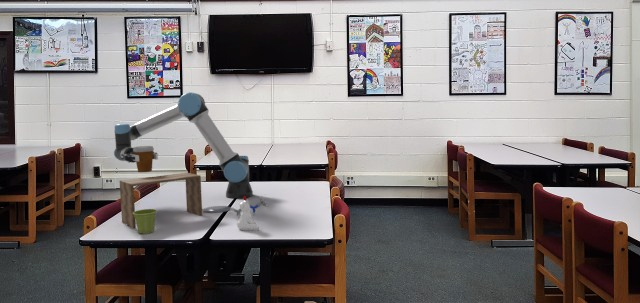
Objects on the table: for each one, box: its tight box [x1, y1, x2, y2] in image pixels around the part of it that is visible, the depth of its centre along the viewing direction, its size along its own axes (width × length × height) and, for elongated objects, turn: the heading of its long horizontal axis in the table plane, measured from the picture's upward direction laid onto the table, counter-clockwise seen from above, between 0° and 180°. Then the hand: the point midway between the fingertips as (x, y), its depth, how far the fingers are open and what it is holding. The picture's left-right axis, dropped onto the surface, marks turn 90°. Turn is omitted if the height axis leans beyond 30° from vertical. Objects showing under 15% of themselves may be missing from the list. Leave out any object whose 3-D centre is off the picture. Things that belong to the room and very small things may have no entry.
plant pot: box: [133, 208, 158, 235], centre depth 189 cm, size 9×9×9 cm
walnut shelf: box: [119, 172, 203, 229], centre depth 211 cm, size 14×32×19 cm, turn 132°
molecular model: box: [229, 195, 269, 220], centre depth 213 cm, size 18×8×10 cm, turn 110°
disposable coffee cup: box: [133, 145, 155, 173], centre depth 223 cm, size 10×10×12 cm
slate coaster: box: [202, 205, 232, 214], centre depth 229 cm, size 14×14×1 cm
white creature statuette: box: [236, 199, 260, 231], centre depth 191 cm, size 10×9×12 cm
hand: (147, 157), depth 219 cm, fingers closed on disposable coffee cup, 8 cm apart
